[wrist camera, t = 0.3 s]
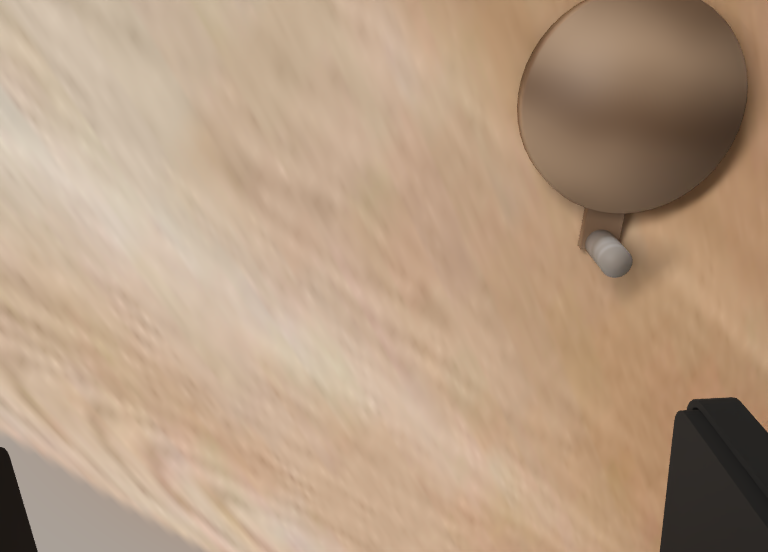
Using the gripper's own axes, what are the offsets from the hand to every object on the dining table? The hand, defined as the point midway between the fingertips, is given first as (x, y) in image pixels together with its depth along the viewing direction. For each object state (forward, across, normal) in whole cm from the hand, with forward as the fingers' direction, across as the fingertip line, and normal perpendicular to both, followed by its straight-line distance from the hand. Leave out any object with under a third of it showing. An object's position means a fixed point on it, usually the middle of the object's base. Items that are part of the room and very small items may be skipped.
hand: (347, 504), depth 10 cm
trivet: (+30, -13, +1) cm, 32 cm away
